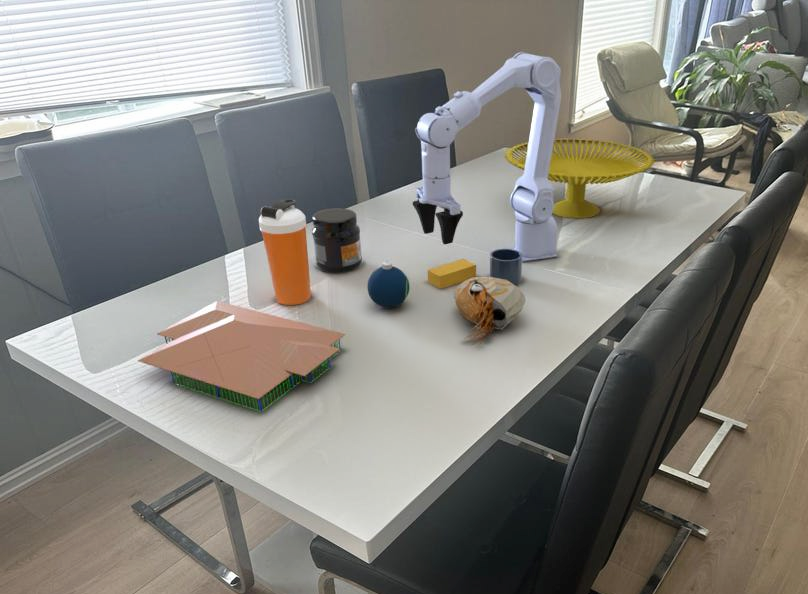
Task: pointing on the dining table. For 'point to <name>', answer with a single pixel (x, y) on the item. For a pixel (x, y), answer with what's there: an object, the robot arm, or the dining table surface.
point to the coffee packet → (451, 273)
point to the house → (243, 351)
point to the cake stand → (584, 171)
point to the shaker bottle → (286, 251)
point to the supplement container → (336, 240)
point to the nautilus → (488, 303)
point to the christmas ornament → (388, 286)
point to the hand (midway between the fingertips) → (438, 237)
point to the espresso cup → (506, 265)
